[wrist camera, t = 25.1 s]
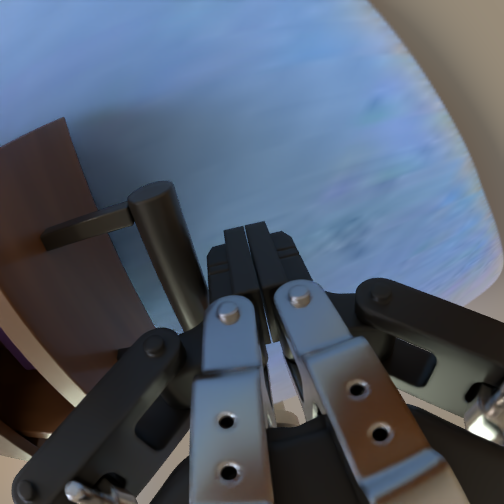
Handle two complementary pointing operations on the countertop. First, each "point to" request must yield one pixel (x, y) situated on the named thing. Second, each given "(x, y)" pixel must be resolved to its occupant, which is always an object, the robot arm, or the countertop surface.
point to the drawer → (76, 277)
